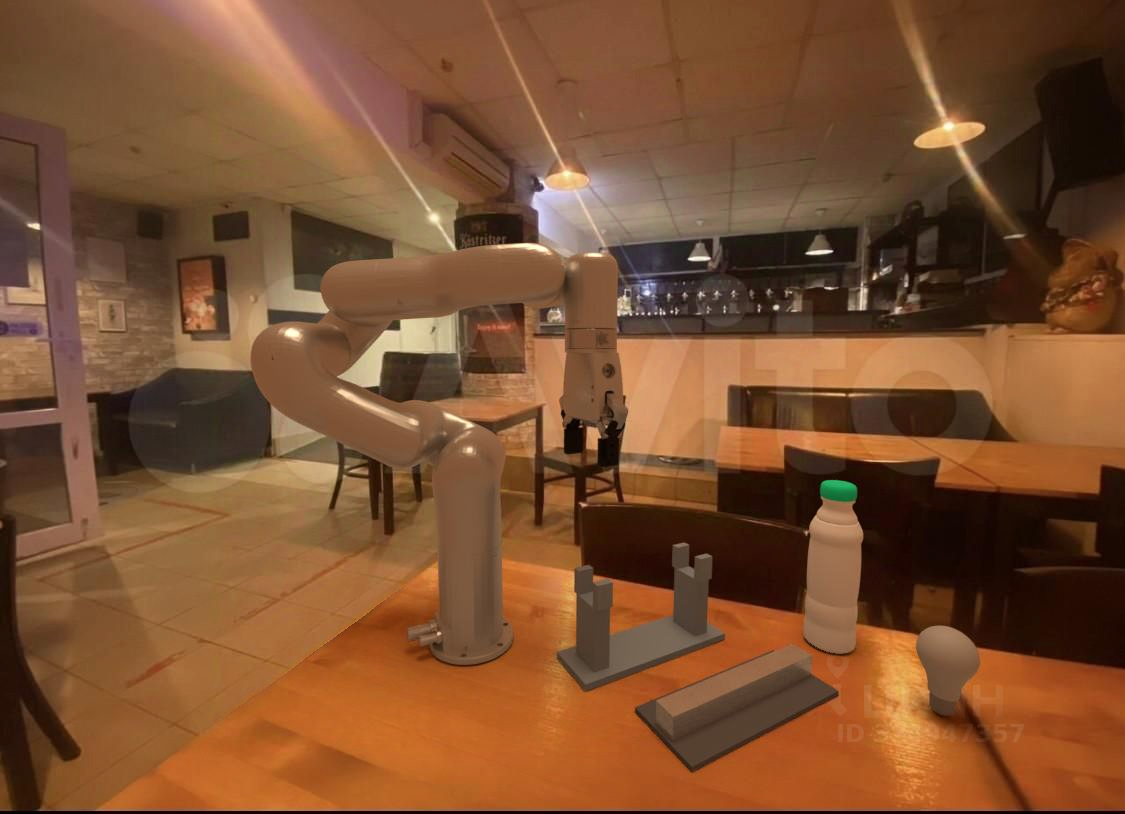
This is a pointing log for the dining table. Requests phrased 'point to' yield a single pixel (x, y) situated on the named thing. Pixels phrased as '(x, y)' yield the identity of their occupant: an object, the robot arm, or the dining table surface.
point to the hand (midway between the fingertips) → (589, 459)
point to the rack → (645, 644)
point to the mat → (740, 720)
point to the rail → (731, 691)
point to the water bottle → (833, 570)
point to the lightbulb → (946, 665)
